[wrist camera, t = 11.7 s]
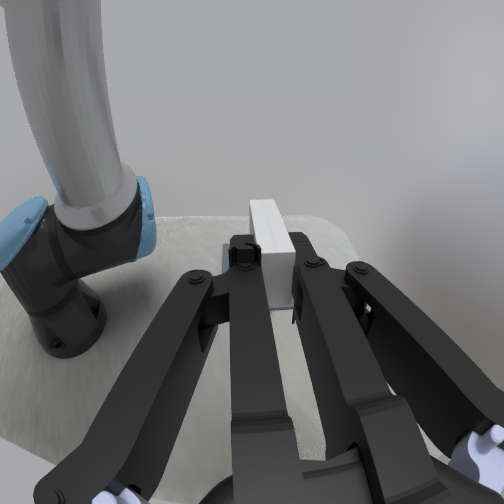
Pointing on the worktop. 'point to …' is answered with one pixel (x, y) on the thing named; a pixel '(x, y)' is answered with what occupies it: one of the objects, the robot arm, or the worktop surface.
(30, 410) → the worktop surface
